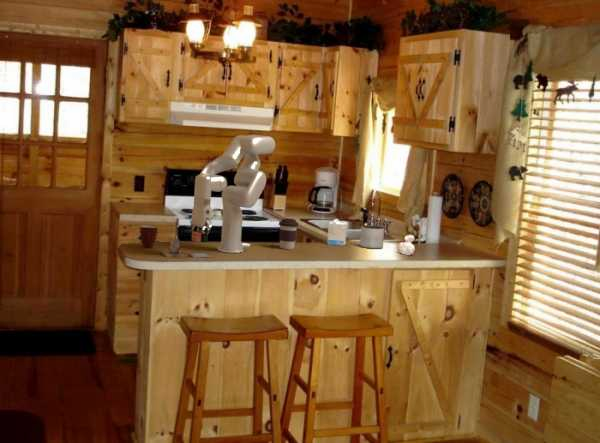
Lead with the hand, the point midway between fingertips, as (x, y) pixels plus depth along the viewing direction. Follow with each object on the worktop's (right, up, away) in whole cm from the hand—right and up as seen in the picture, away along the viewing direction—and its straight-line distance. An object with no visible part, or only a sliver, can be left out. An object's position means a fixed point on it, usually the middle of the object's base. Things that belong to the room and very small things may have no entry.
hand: (199, 240), depth 377 cm
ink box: (+66, -4, +66) cm, 94 cm away
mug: (-26, -4, +13) cm, 29 cm away
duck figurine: (+102, -9, +50) cm, 114 cm away
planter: (+85, -5, +65) cm, 107 cm away
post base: (-12, -7, -1) cm, 13 cm away
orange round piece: (0, 0, 0) cm, 0 cm away
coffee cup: (+40, -5, +41) cm, 57 cm away
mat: (0, -7, +1) cm, 7 cm away
